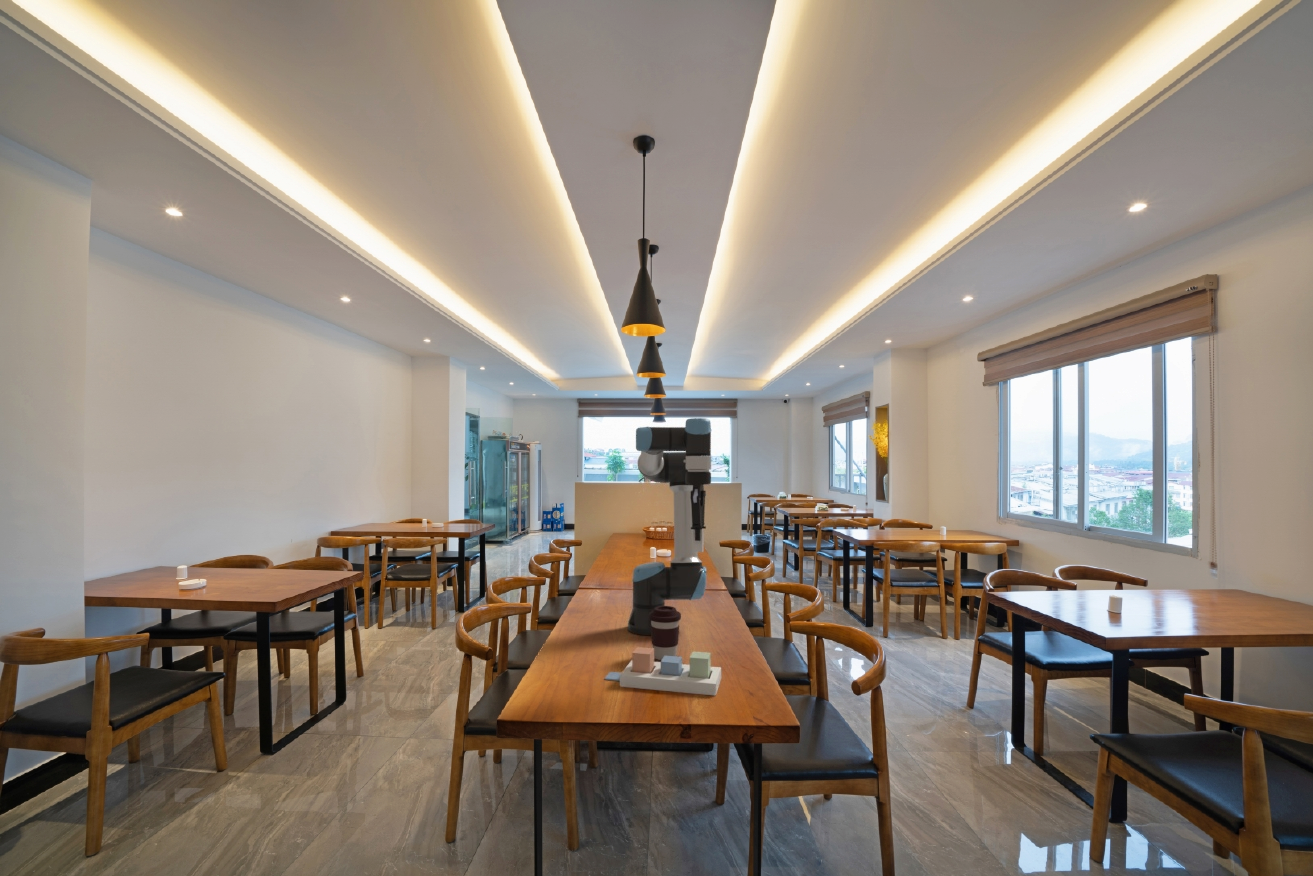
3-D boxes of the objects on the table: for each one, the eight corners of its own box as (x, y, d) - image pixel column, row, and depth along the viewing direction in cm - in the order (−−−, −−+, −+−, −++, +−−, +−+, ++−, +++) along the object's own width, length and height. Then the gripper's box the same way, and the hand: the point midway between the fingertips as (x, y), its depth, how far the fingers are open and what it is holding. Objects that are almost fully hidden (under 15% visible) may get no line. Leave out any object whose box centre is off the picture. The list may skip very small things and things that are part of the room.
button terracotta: (637, 665, 160) (637, 647, 160) (654, 667, 159) (654, 648, 159) (632, 672, 155) (632, 652, 155) (649, 673, 154) (649, 654, 154)
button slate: (664, 674, 158) (664, 655, 158) (682, 675, 157) (682, 657, 157) (660, 681, 153) (660, 661, 153) (678, 682, 152) (678, 663, 152)
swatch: (610, 673, 161) (610, 671, 161) (626, 674, 160) (626, 673, 160) (604, 679, 157) (604, 678, 157) (621, 681, 155) (621, 679, 155)
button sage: (692, 670, 156) (692, 651, 156) (710, 672, 155) (710, 652, 155) (689, 677, 151) (689, 657, 151) (708, 678, 150) (708, 659, 150)
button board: (631, 670, 164) (631, 659, 164) (721, 678, 158) (721, 667, 158) (619, 686, 152) (619, 675, 152) (715, 695, 146) (715, 684, 146)
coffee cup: (678, 664, 169) (678, 613, 169) (645, 661, 171) (646, 611, 171) (683, 653, 178) (683, 605, 179) (652, 650, 180) (652, 603, 181)
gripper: (689, 470, 173) (689, 547, 172) (681, 471, 160) (681, 554, 159) (713, 470, 171) (714, 548, 170) (707, 471, 158) (708, 555, 157)
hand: (698, 551), depth 165 cm, fingers closed
